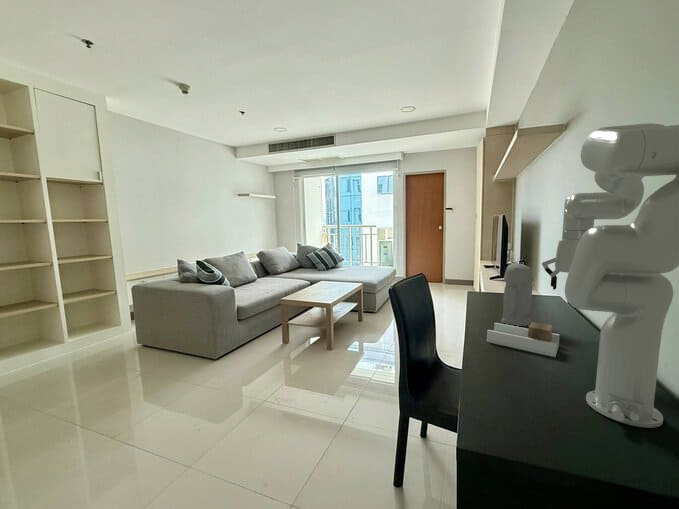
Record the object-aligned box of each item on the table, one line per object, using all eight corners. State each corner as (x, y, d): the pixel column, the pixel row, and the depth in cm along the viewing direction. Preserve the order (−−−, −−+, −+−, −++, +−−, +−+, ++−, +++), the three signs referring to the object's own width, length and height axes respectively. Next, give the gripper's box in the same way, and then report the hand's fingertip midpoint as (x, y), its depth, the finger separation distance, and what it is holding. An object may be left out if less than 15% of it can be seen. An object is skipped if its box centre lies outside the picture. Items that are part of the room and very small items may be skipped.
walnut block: (551, 342, 104) (552, 325, 104) (548, 349, 99) (550, 330, 98) (530, 338, 108) (531, 321, 108) (527, 344, 103) (528, 326, 102)
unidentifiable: (527, 329, 121) (531, 266, 119) (498, 324, 127) (501, 264, 125) (533, 320, 132) (536, 262, 130) (506, 316, 139) (509, 261, 136)
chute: (558, 345, 105) (559, 334, 105) (555, 357, 96) (556, 344, 96) (494, 332, 118) (495, 322, 117) (486, 341, 109) (487, 330, 108)
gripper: (613, 236, 93) (608, 292, 94) (545, 235, 103) (541, 285, 105) (615, 237, 87) (610, 297, 88) (542, 236, 98) (539, 289, 99)
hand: (573, 291), depth 97 cm, fingers open, 9 cm apart
